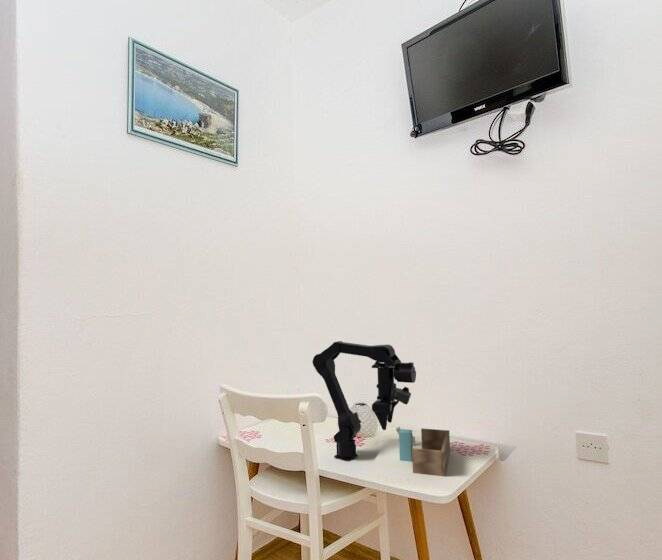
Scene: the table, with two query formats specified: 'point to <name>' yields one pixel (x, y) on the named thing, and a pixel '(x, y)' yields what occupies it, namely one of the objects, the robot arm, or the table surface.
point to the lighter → (412, 435)
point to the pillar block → (405, 445)
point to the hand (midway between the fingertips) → (387, 425)
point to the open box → (432, 453)
